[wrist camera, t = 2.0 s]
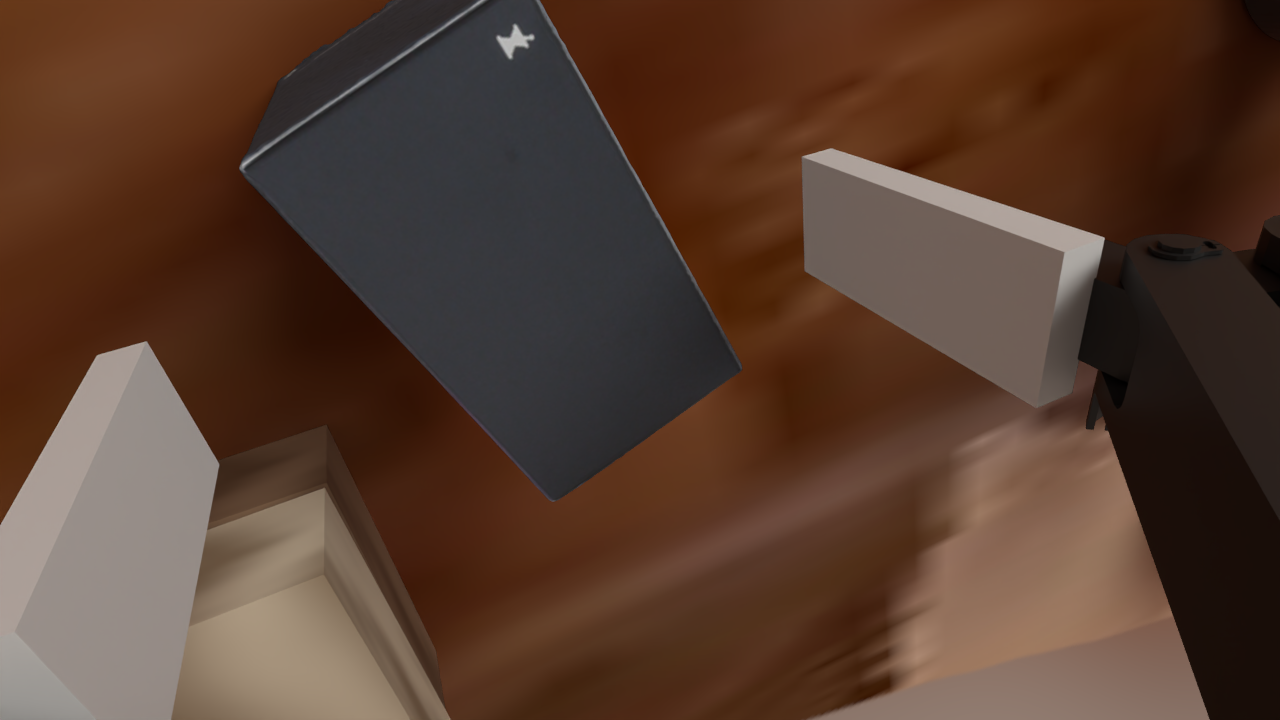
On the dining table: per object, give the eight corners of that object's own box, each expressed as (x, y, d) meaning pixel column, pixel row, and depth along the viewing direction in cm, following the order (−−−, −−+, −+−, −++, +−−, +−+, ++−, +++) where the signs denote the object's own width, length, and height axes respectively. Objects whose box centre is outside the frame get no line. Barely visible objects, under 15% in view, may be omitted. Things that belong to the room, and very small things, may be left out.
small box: (257, 88, 20) (207, 167, 12) (443, -40, 21) (528, -55, 12) (476, 343, 26) (549, 520, 18) (618, 242, 27) (758, 367, 18)
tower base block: (326, 418, 26) (326, 482, 23) (434, 643, 33) (446, 717, 29) (18, 519, 24) (-32, 606, 20) (204, 739, 30) (188, 831, 27)
